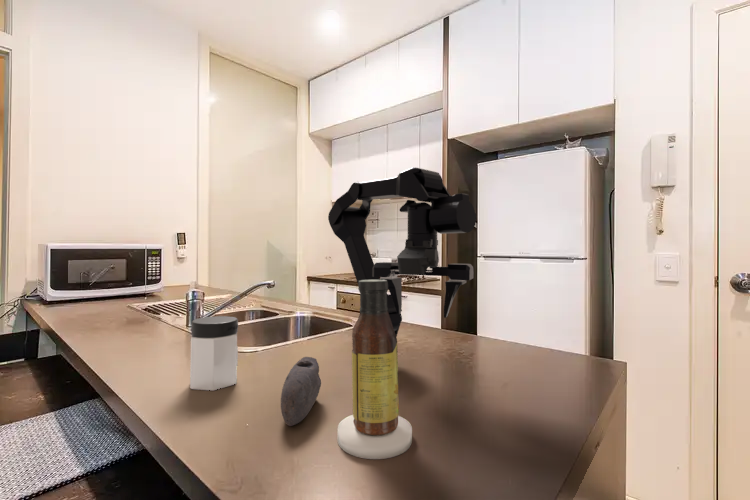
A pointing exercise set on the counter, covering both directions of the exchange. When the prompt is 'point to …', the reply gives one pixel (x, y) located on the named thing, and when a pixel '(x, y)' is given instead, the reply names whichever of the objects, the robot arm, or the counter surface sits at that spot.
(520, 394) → the counter surface
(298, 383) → the perforated stone tool
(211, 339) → the jar
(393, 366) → the sauce bottle
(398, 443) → the coaster
